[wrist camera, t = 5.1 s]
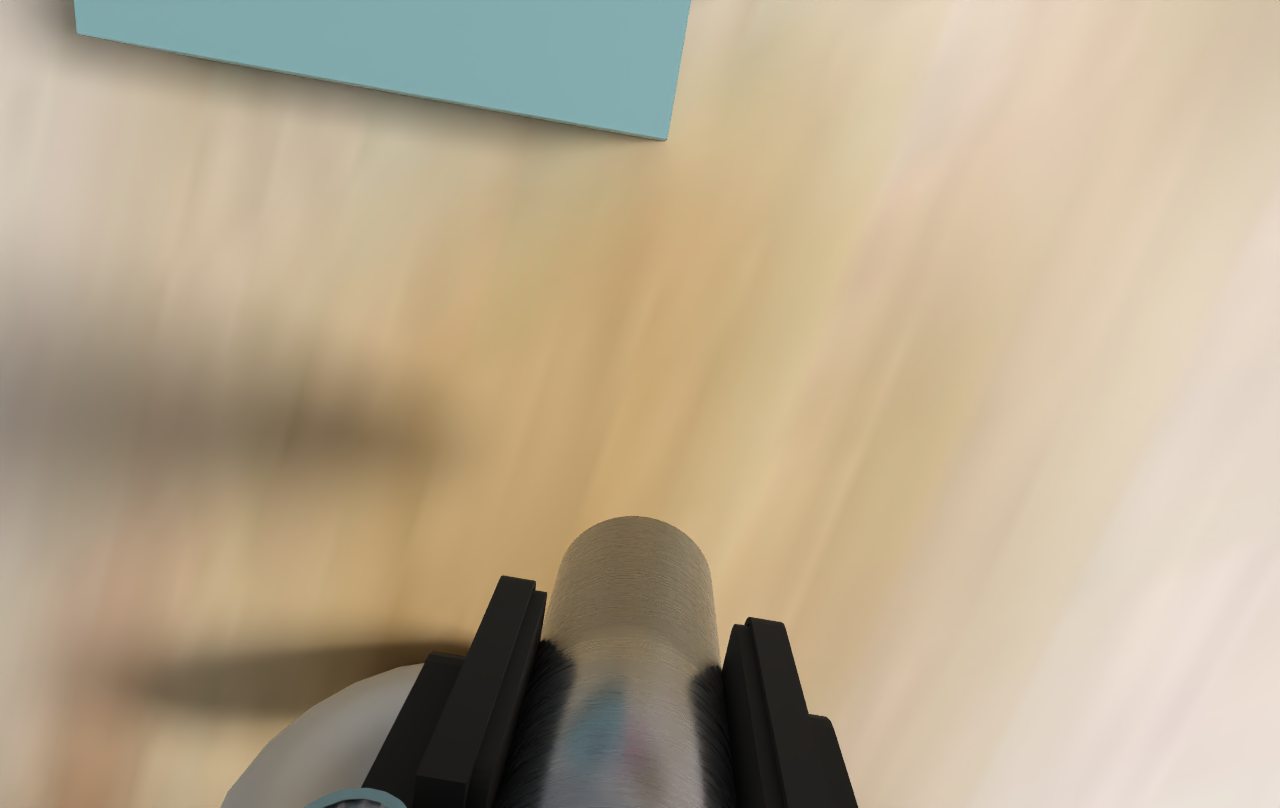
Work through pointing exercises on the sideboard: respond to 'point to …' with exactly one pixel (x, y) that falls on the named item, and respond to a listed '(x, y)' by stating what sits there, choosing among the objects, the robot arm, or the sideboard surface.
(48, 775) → the sideboard surface
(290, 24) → the slot block
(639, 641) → the steel pin
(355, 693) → the donut
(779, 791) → the robot arm
